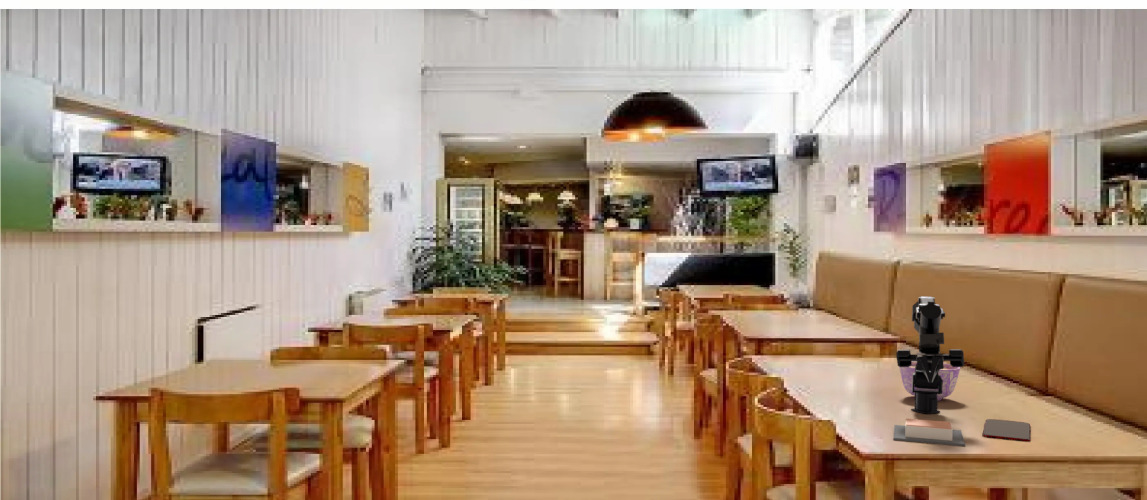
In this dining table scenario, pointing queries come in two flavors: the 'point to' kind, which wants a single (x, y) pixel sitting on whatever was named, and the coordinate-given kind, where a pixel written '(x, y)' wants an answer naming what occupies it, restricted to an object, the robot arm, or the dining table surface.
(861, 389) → the dining table surface
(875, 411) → the dining table surface
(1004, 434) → the smartphone
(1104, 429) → the dining table surface
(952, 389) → the lavender translucent bowl
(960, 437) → the charcoal mat
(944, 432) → the cream and orange slab
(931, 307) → the robot arm
